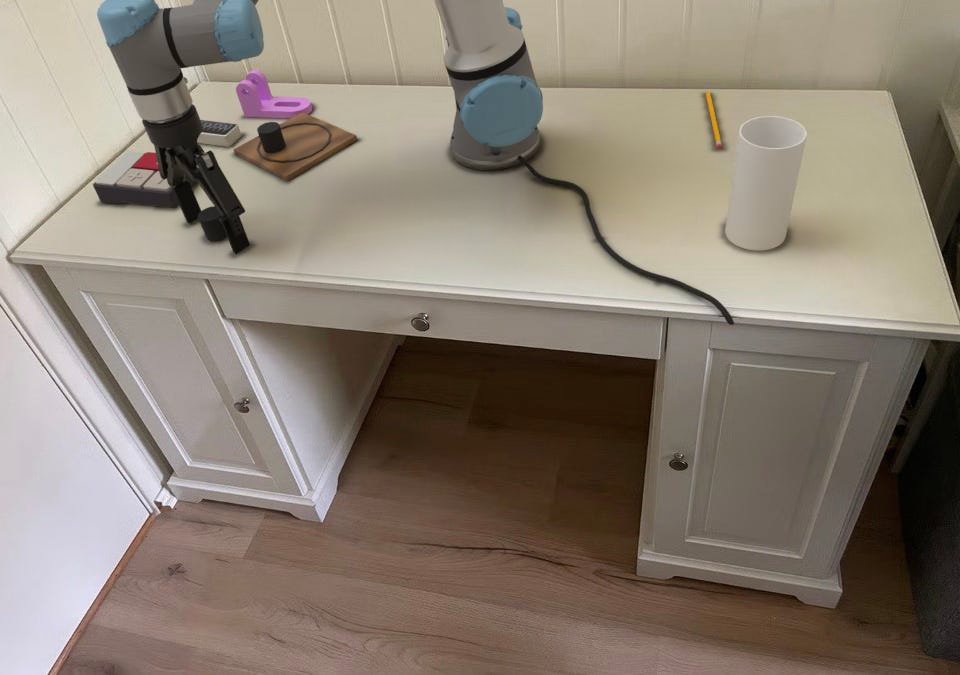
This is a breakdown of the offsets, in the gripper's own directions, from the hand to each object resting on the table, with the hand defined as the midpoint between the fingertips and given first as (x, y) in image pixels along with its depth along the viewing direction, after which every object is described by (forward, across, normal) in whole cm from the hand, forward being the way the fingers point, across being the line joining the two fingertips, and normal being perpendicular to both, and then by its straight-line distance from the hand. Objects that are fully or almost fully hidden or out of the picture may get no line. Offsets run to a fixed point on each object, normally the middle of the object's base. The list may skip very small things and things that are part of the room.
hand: (217, 233), depth 125 cm
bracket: (0, +25, -31) cm, 40 cm away
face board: (0, +11, -24) cm, 26 cm away
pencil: (0, -46, -71) cm, 85 cm away
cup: (0, -67, -47) cm, 82 cm away
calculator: (0, +22, -1) cm, 22 cm away
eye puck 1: (0, 0, 0) cm, 0 cm away
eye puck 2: (-1, +13, -21) cm, 24 cm away
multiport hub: (0, +28, -17) cm, 33 cm away
